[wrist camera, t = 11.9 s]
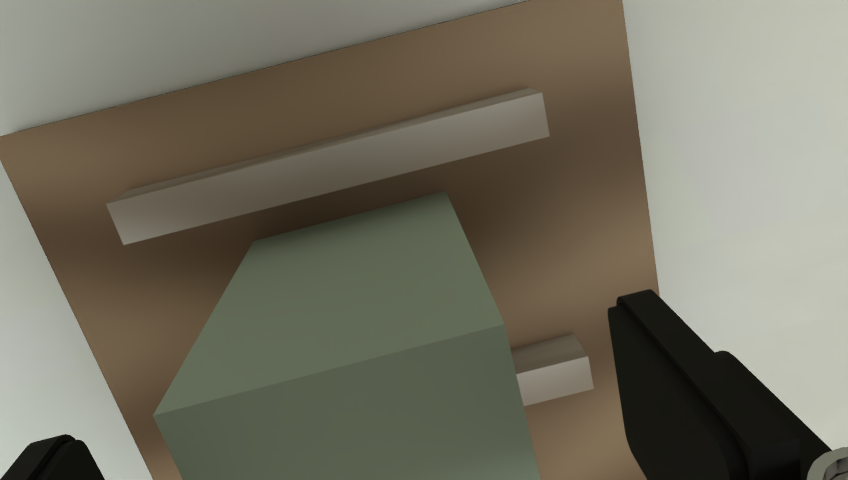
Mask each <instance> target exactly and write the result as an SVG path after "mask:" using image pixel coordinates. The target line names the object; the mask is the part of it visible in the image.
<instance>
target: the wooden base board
mask: <svg viewBox="0 0 848 480" xmlns="http://www.w3.org/2000/svg"><path fill="white" fill-rule="evenodd" d="M0 160H1V162H2V164H3V167H4V169H5V171H6V173H7V175H8V177H9V179H10V181H11V183H12V185H13V187H14V190H15V192H16V194H17V196H18V198H19V200H20V202H21V204H22V206H23V208H24V210H25V213H26V215H27V217H28V219H29V221H30V223H31V225H32V227H33V229H34V231H35V233H36V236H37V238H38V240H39V242H40V244H41V246H42V248H43V250H44V252H45V254H46V256H47V259H48V261H49V263H50V265H51V267H52V269H53V271H54V273H55V275H56V277H57V279H58V282H59V284H60V286H61V288H62V290H63V292H64V294H65V296H66V298H67V300H68V302H69V305H70V307H71V309H72V311H73V313H74V315H75V317H76V319H77V321H78V323H79V325H80V328H81V330H82V332H83V334H84V336H85V338H86V340H87V342H88V344H89V346H90V348H91V351H92V353H93V355H94V357H95V359H96V361H97V363H98V365H99V367H100V369H101V371H102V374H103V376H104V378H105V380H106V382H107V384H108V386H109V388H110V390H111V392H112V394H113V397H114V399H115V401H116V403H117V405H118V407H119V409H120V411H121V413H122V415H123V417H124V420H125V422H126V424H127V426H128V428H129V430H130V432H131V434H132V436H133V438H134V440H135V443H136V445H137V447H138V449H139V451H140V453H141V455H142V457H143V459H144V461H145V463H146V466H147V468H148V470H149V472H150V474H151V476H152V478H153V480H183V479H182V477H181V475H180V473H179V470H178V468H177V466H176V464H175V462H174V460H173V458H172V456H171V453H170V451H169V449H168V447H167V445H166V443H165V441H164V438H163V436H162V434H161V432H160V430H159V428H158V426H157V424H156V421H155V419H154V417H153V414H154V413H155V411H156V409H157V407H158V406H159V404H160V402H161V400H162V399H163V397H164V395H165V393H166V392H167V390H168V388H169V387H170V385H171V383H172V381H173V380H174V378H175V376H176V374H177V373H178V371H179V369H180V368H181V366H182V364H183V362H184V361H185V359H186V357H187V355H188V354H189V352H190V350H191V349H192V347H193V345H194V343H195V342H196V340H197V338H198V336H199V335H200V333H201V331H202V329H203V328H204V326H205V324H206V323H207V321H208V319H209V317H210V316H211V314H212V312H213V310H214V309H215V307H216V305H217V304H218V302H219V300H220V298H221V297H222V295H223V293H224V291H225V290H226V288H227V286H228V285H229V283H230V281H231V279H232V278H233V276H234V274H235V272H236V271H237V269H238V267H239V265H240V264H241V262H242V260H243V259H244V257H245V255H246V253H247V252H248V250H249V248H250V246H251V245H252V243H253V241H256V240H260V239H264V238H268V237H272V236H275V235H279V234H283V233H287V232H291V231H294V230H298V229H302V228H306V227H310V226H313V225H317V224H321V223H325V222H329V221H333V220H336V219H340V218H344V217H348V216H352V215H355V214H359V213H363V212H367V211H371V210H374V209H378V208H382V207H386V206H390V205H393V204H397V203H401V202H405V201H409V200H412V199H416V198H420V197H424V196H428V195H431V194H435V193H439V192H443V191H446V193H447V195H448V197H449V199H450V202H451V204H452V206H453V208H454V211H455V213H456V215H457V217H458V220H459V222H460V224H461V227H462V229H463V231H464V233H465V236H466V238H467V240H468V242H469V245H470V247H471V249H472V251H473V254H474V256H475V258H476V260H477V263H478V265H479V267H480V269H481V272H482V274H483V276H484V278H485V281H486V283H487V285H488V288H489V290H490V292H491V294H492V297H493V299H494V301H495V303H496V306H497V308H498V310H499V312H500V315H501V317H502V319H503V321H504V324H505V328H506V332H507V337H508V341H509V345H510V350H511V354H512V358H513V363H514V367H515V371H516V376H517V380H518V384H519V389H520V393H521V397H522V402H523V406H524V410H525V415H526V419H527V423H528V428H529V432H530V436H531V441H532V445H533V450H534V454H535V458H536V463H537V467H538V471H539V476H540V480H647V479H646V477H645V475H644V473H643V472H642V470H641V468H640V467H639V465H638V463H637V461H636V460H635V458H634V456H633V454H632V452H631V450H630V448H629V445H628V442H627V438H626V434H625V429H624V422H623V415H622V408H621V402H620V395H619V388H618V382H617V375H616V368H615V362H614V355H613V348H612V342H611V335H610V328H609V322H608V313H607V312H608V308H610V307H614V306H616V301H617V298H618V297H619V296H623V295H627V294H631V293H635V292H639V291H644V290H648V289H651V290H653V291H654V292H655V293H656V294H657V295H658V296H659V289H658V281H657V273H656V265H655V257H654V249H653V241H652V233H651V225H650V217H649V209H648V201H647V193H646V186H645V178H644V170H643V162H642V154H641V146H640V138H639V130H638V122H637V114H636V106H635V98H634V90H633V82H632V74H631V66H630V58H629V50H628V43H627V35H626V27H625V19H624V11H623V3H622V0H528V1H524V2H520V3H517V4H513V5H509V6H505V7H501V8H497V9H493V10H489V11H485V12H482V13H478V14H474V15H470V16H466V17H462V18H458V19H454V20H450V21H446V22H443V23H439V24H435V25H431V26H427V27H423V28H419V29H415V30H411V31H408V32H404V33H400V34H396V35H392V36H388V37H384V38H380V39H376V40H373V41H369V42H365V43H361V44H357V45H353V46H349V47H345V48H341V49H337V50H334V51H330V52H326V53H322V54H318V55H314V56H310V57H306V58H302V59H299V60H295V61H291V62H287V63H283V64H279V65H275V66H271V67H267V68H264V69H260V70H256V71H252V72H248V73H244V74H240V75H236V76H232V77H228V78H225V79H221V80H217V81H213V82H209V83H205V84H201V85H197V86H193V87H190V88H186V89H182V90H178V91H174V92H170V93H166V94H162V95H158V96H155V97H151V98H147V99H143V100H139V101H135V102H131V103H127V104H123V105H119V106H116V107H112V108H108V109H104V110H100V111H96V112H92V113H88V114H84V115H81V116H77V117H73V118H69V119H65V120H61V121H57V122H53V123H49V124H46V125H42V126H38V127H34V128H30V129H26V130H22V131H18V132H14V133H11V134H7V135H4V136H0Z"/></svg>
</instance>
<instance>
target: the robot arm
mask: <svg viewBox="0 0 848 480" xmlns="http://www.w3.org/2000/svg"><path fill="white" fill-rule="evenodd" d="M607 313H608V322H609V328H610V335H611V342H612V348H613V355H614V362H615V368H616V375H617V382H618V388H619V395H620V402H621V408H622V415H623V422H624V429H625V434H626V438H627V442H628V445H629V448H630V450H631V452H632V454H633V456H634V458H635V460H636V461H637V463H638V465H639V467H640V468H641V470H642V472H643V473H644V475H645V477H646V479H647V480H848V447H842V448H839V449H836V450H833V451H832V450H831V449H830V448H829V447H828V446H827V445H826V444H825V443H824V442H823V441H822V440H821V439H820V438H819V437H818V436H817V435H816V434H815V433H813V432H812V431H811V430H810V429H809V428H808V427H807V426H806V425H805V424H804V423H803V422H802V421H801V420H800V419H799V418H798V417H797V416H796V415H795V414H794V413H793V412H792V411H791V410H790V409H789V408H788V407H786V406H785V405H784V404H783V403H782V402H781V401H780V400H779V399H778V398H777V397H776V396H775V395H774V394H773V393H772V392H771V391H770V390H769V389H768V388H767V387H766V386H765V385H764V384H763V383H762V382H761V381H759V380H758V379H757V378H756V377H755V376H754V375H753V374H752V373H751V372H750V371H749V370H748V369H747V368H746V367H745V366H744V365H743V364H742V363H741V362H740V361H739V360H738V359H737V358H736V357H735V356H733V355H732V354H731V353H729V352H727V351H719V352H715V353H714V352H713V351H712V350H711V349H710V348H709V347H708V346H707V345H706V344H705V342H704V341H703V340H702V339H701V338H700V337H699V336H698V335H697V334H696V333H695V332H694V331H693V330H692V329H691V328H690V327H689V326H688V325H687V324H686V323H685V322H684V321H683V320H682V319H681V318H680V317H679V316H678V315H677V314H676V313H675V312H674V311H673V310H672V309H671V308H670V307H669V306H668V305H667V304H666V303H665V302H664V301H663V300H662V299H661V298H660V297H659V296H658V295H657V294H656V293H655V292H654V291H653V290H651V289H648V290H644V291H639V292H635V293H631V294H627V295H623V296H619V297H618V298H617V301H616V306H614V307H610V308H608V312H607ZM0 480H105V479H104V477H103V475H102V474H101V472H100V470H99V468H98V466H97V464H96V462H95V461H94V459H93V457H92V455H91V453H90V451H89V449H88V448H87V446H86V445H85V443H84V442H82V441H81V440H75V438H73V437H72V436H70V435H66V434H65V435H61V436H57V437H53V438H49V439H45V440H41V441H36V442H33V443H31V444H29V445H28V446H27V447H26V448H25V449H24V451H23V452H22V453H21V454H20V456H19V457H18V458H17V459H16V461H15V462H14V463H13V464H12V466H11V467H10V468H9V469H8V471H7V472H6V473H5V474H4V476H3V477H2V478H1V479H0Z"/></svg>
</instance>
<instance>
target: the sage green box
mask: <svg viewBox="0 0 848 480" xmlns="http://www.w3.org/2000/svg"><path fill="white" fill-rule="evenodd" d="M153 417H154V419H155V421H156V424H157V426H158V428H159V430H160V432H161V434H162V436H163V438H164V441H165V443H166V445H167V447H168V449H169V451H170V453H171V456H172V458H173V460H174V462H175V464H176V466H177V468H178V470H179V473H180V475H181V477H182V479H183V480H540V476H539V471H538V467H537V463H536V458H535V454H534V450H533V445H532V441H531V436H530V432H529V428H528V423H527V419H526V415H525V410H524V406H523V402H522V397H521V393H520V389H519V384H518V380H517V376H516V371H515V367H514V363H513V358H512V354H511V350H510V345H509V341H508V337H507V332H506V328H505V324H504V321H503V319H502V317H501V315H500V312H499V310H498V308H497V306H496V303H495V301H494V299H493V297H492V294H491V292H490V290H489V288H488V285H487V283H486V281H485V278H484V276H483V274H482V272H481V269H480V267H479V265H478V263H477V260H476V258H475V256H474V254H473V251H472V249H471V247H470V245H469V242H468V240H467V238H466V236H465V233H464V231H463V229H462V227H461V224H460V222H459V220H458V217H457V215H456V213H455V211H454V208H453V206H452V204H451V202H450V199H449V197H448V195H447V193H446V191H443V192H439V193H435V194H431V195H428V196H424V197H420V198H416V199H412V200H409V201H405V202H401V203H397V204H393V205H390V206H386V207H382V208H378V209H374V210H371V211H367V212H363V213H359V214H355V215H352V216H348V217H344V218H340V219H336V220H333V221H329V222H325V223H321V224H317V225H313V226H310V227H306V228H302V229H298V230H294V231H291V232H287V233H283V234H279V235H275V236H272V237H268V238H264V239H260V240H256V241H253V243H252V245H251V246H250V248H249V250H248V252H247V253H246V255H245V257H244V259H243V260H242V262H241V264H240V265H239V267H238V269H237V271H236V272H235V274H234V276H233V278H232V279H231V281H230V283H229V285H228V286H227V288H226V290H225V291H224V293H223V295H222V297H221V298H220V300H219V302H218V304H217V305H216V307H215V309H214V310H213V312H212V314H211V316H210V317H209V319H208V321H207V323H206V324H205V326H204V328H203V329H202V331H201V333H200V335H199V336H198V338H197V340H196V342H195V343H194V345H193V347H192V349H191V350H190V352H189V354H188V355H187V357H186V359H185V361H184V362H183V364H182V366H181V368H180V369H179V371H178V373H177V374H176V376H175V378H174V380H173V381H172V383H171V385H170V387H169V388H168V390H167V392H166V393H165V395H164V397H163V399H162V400H161V402H160V404H159V406H158V407H157V409H156V411H155V413H154V414H153Z"/></svg>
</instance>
